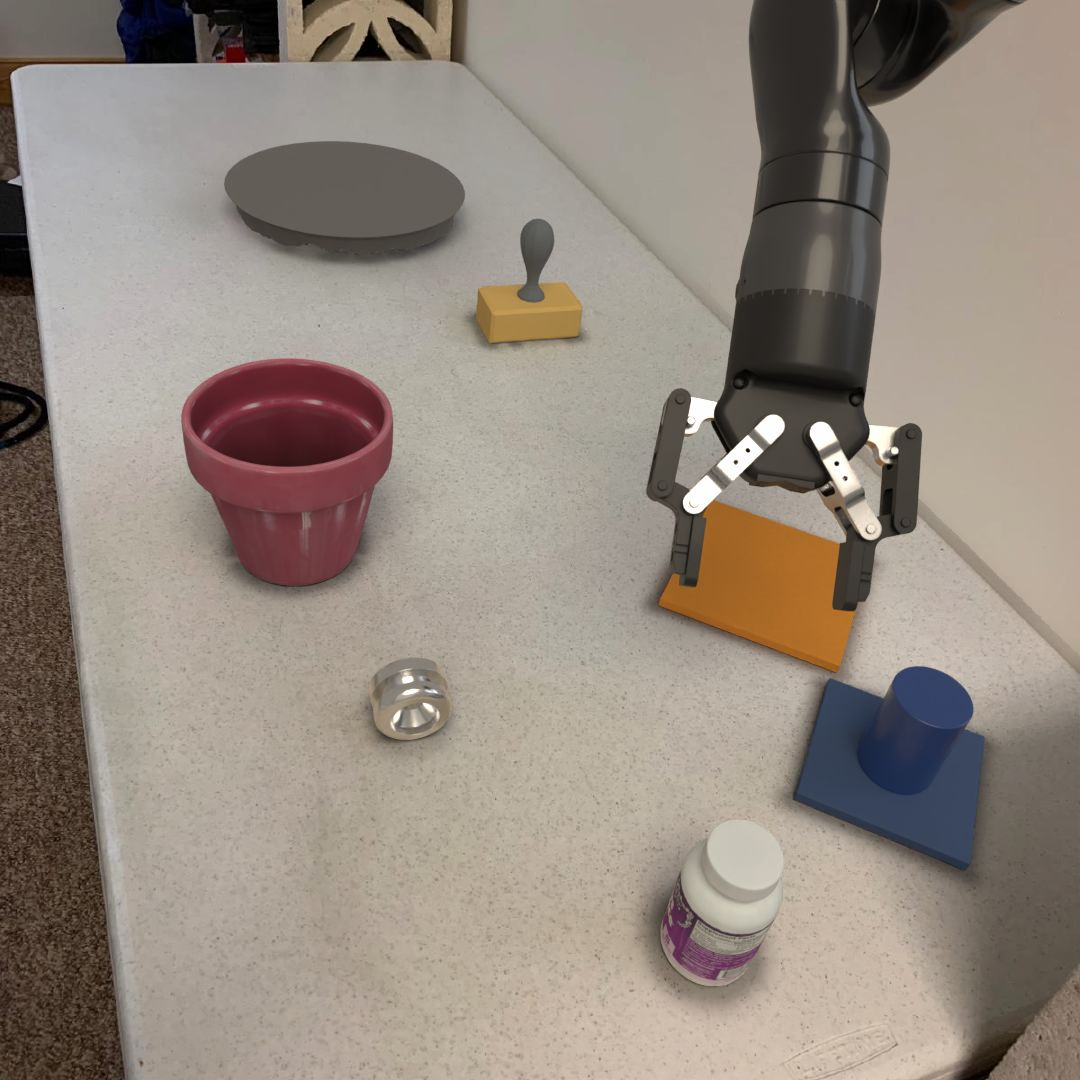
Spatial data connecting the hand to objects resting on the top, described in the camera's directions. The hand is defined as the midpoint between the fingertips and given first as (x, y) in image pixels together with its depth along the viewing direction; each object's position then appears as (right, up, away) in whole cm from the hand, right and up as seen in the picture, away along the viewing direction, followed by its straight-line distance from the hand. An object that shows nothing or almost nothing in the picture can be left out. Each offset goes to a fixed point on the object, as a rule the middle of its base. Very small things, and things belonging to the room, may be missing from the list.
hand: (766, 598), depth 54 cm
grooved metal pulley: (-21, -9, +12) cm, 26 cm away
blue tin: (+11, -12, +13) cm, 21 cm away
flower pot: (-31, +3, +24) cm, 39 cm away
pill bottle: (-3, -20, +3) cm, 20 cm away
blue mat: (+11, -12, +13) cm, 21 cm away
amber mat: (+6, 0, +26) cm, 27 cm away
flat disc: (-36, +42, +67) cm, 87 cm away
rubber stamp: (-14, +26, +53) cm, 60 cm away
